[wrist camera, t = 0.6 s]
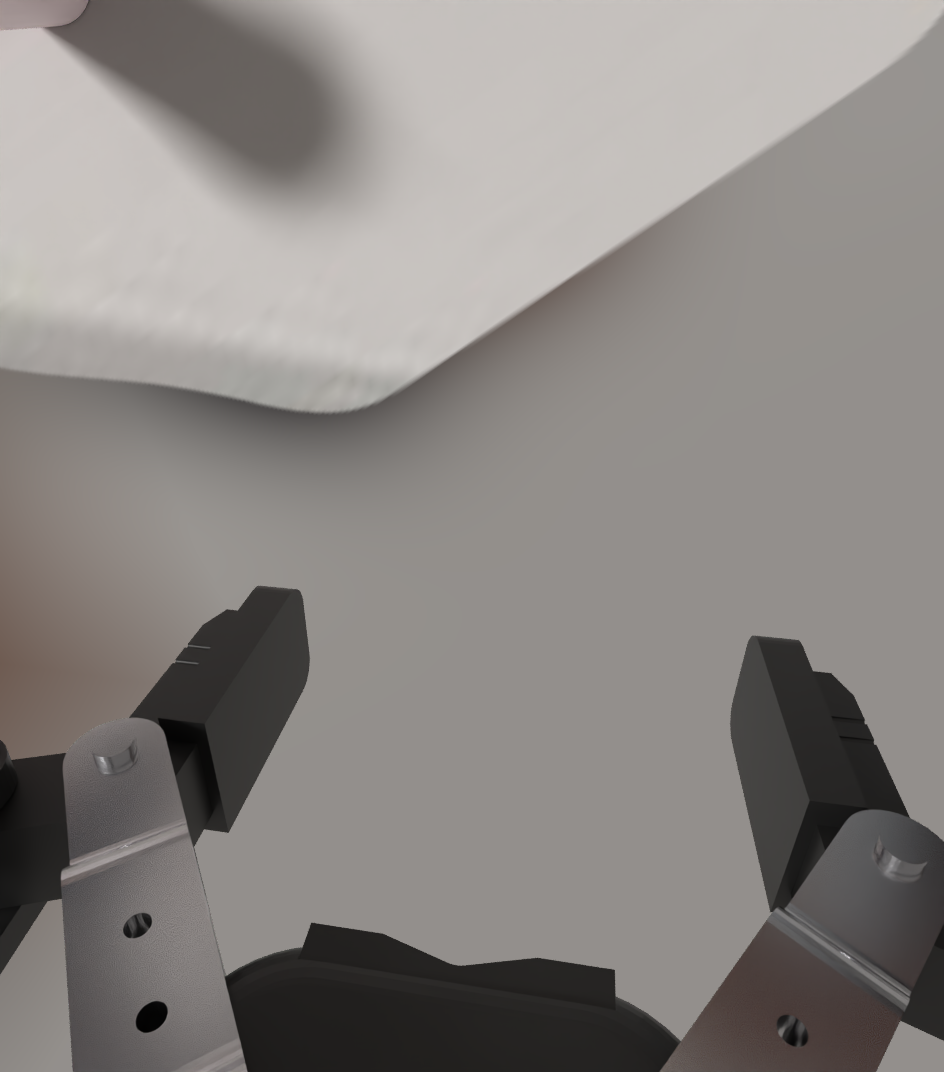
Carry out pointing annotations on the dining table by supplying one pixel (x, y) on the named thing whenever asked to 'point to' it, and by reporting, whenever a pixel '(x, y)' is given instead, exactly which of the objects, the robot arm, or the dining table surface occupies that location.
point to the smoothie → (39, 13)
